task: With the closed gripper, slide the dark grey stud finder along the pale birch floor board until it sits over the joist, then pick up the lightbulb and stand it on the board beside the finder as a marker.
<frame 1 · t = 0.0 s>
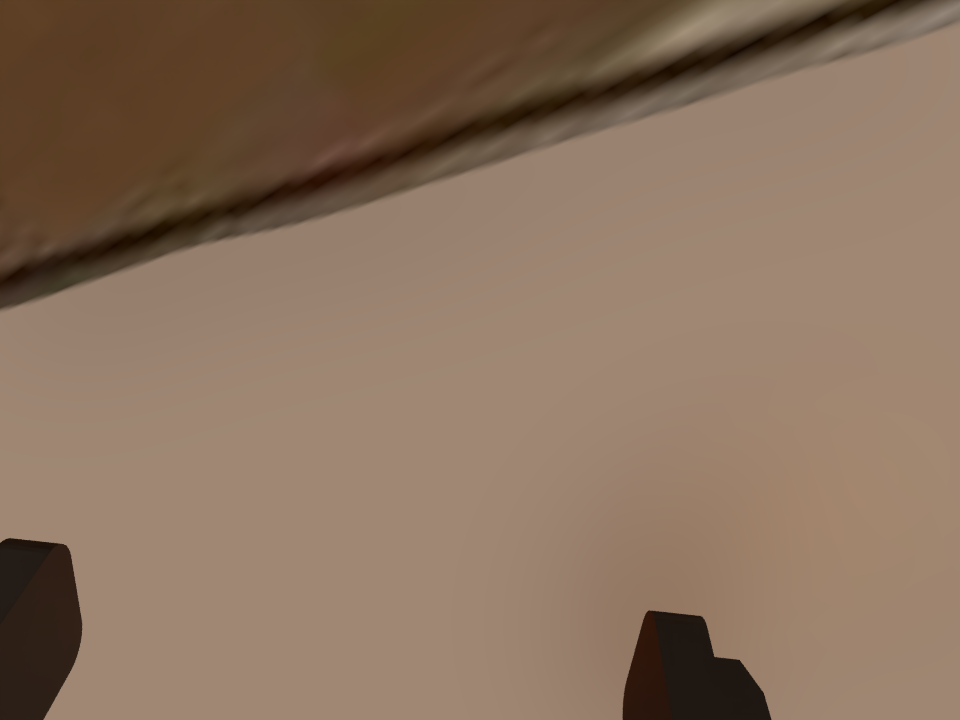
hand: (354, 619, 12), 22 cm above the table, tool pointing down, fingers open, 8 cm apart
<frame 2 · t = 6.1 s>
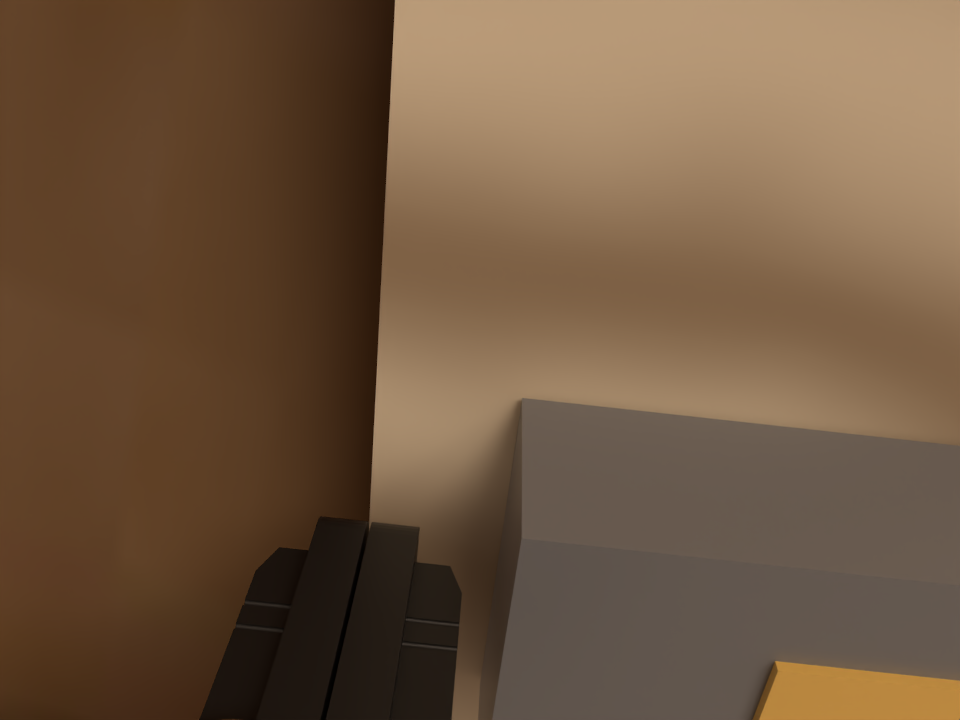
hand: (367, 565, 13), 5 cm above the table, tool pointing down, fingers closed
stud finder: (736, 656, 13), point 6 cm above the table, slide at -6.4 cm, touching gripper
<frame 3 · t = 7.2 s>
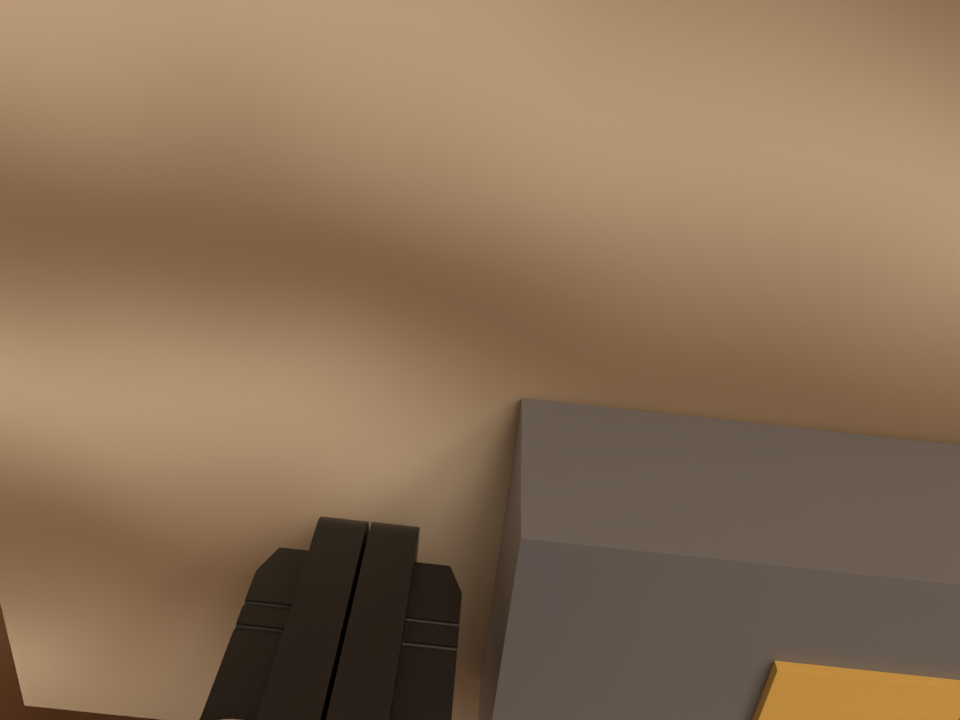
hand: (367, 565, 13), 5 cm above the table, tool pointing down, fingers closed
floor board: (728, 250, 16), on the table
stud finder: (736, 656, 13), point 6 cm above the table, slide at -0.1 cm, touching gripper
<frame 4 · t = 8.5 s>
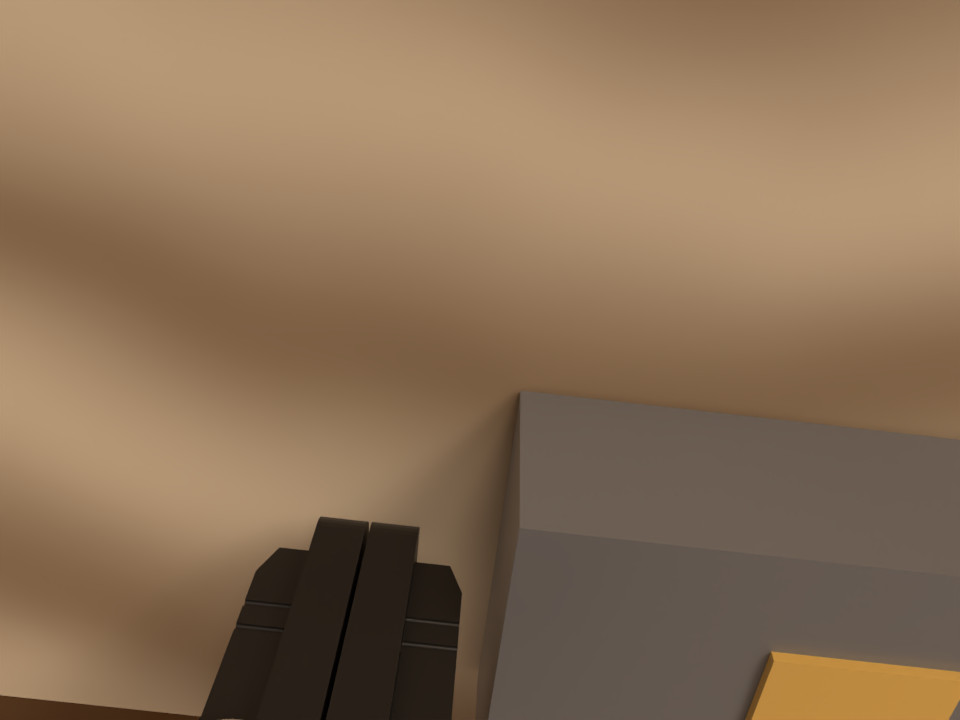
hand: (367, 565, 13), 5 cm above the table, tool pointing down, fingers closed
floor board: (437, 212, 16), on the table
stud finder: (733, 648, 13), point 6 cm above the table, slide at 5.1 cm, touching gripper
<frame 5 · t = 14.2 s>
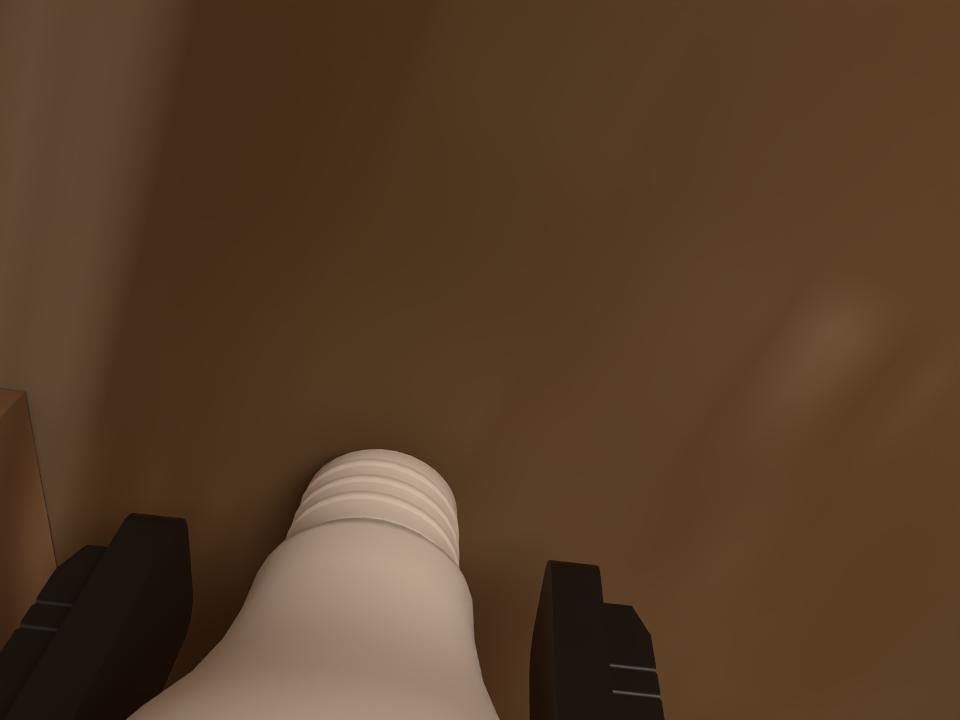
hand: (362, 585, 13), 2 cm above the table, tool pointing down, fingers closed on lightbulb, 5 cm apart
lightbulb: (387, 474, 15), on the table, touching gripper
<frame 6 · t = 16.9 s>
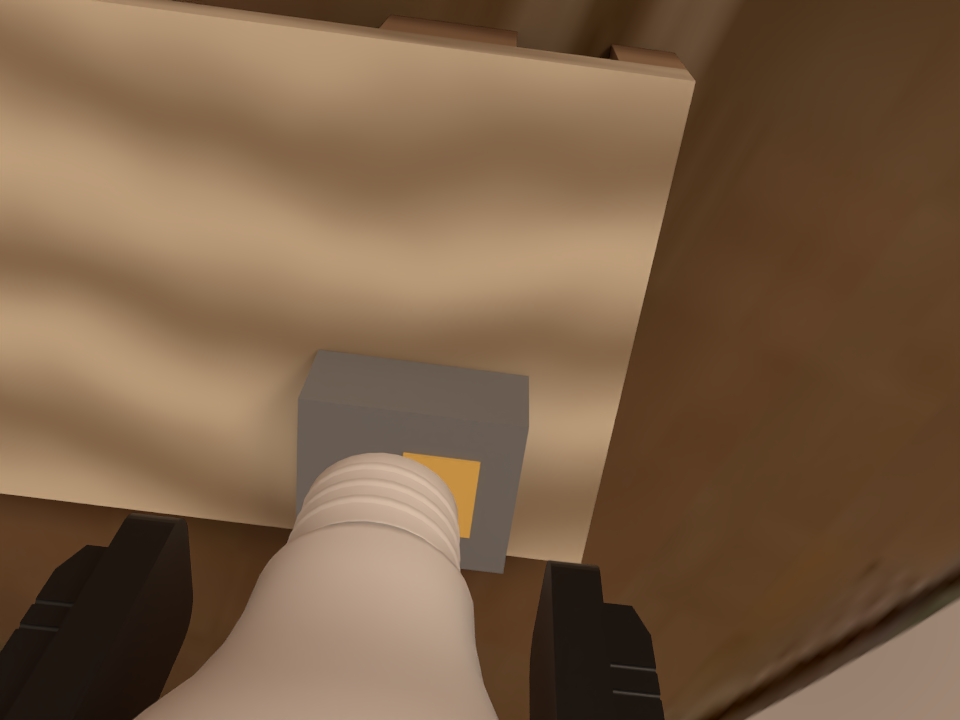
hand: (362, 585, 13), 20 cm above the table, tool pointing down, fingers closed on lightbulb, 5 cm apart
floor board: (292, 264, 32), on the table
lightbulb: (388, 477, 15), point 17 cm above the table, touching gripper
stud finder: (411, 464, 29), point 6 cm above the table, slide at 5.3 cm
when the fingers open (8 cm above the table, at t = 19.6 s): lightbulb drops 1 cm, resting on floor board.
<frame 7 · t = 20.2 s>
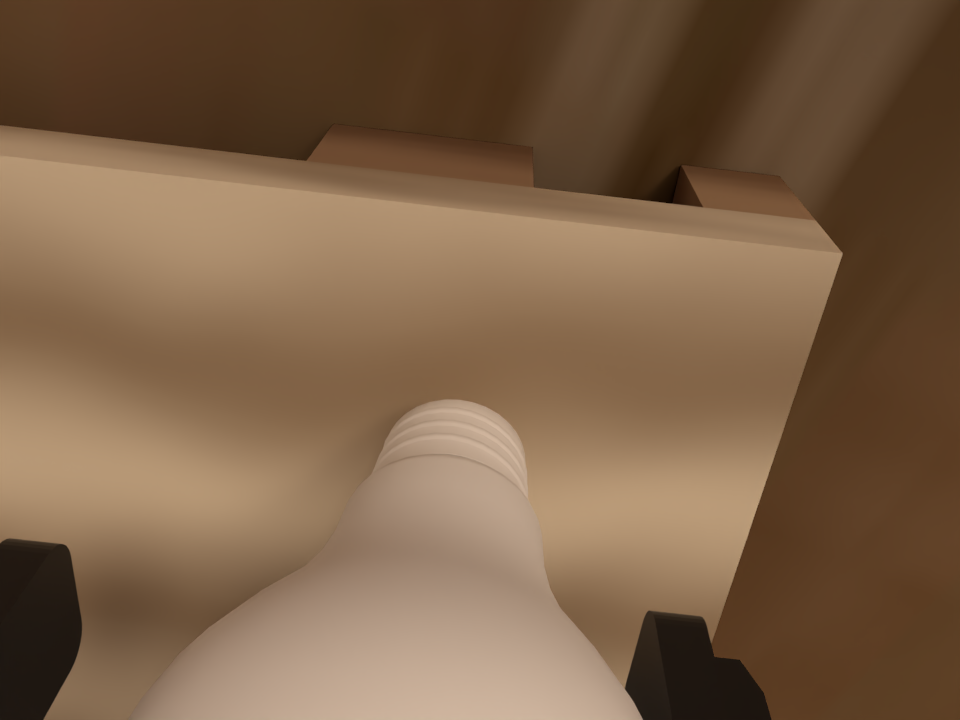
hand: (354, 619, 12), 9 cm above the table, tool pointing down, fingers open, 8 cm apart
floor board: (205, 468, 22), on the table
lightbulb: (460, 428, 16), point 4 cm above the table, touching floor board, gripper
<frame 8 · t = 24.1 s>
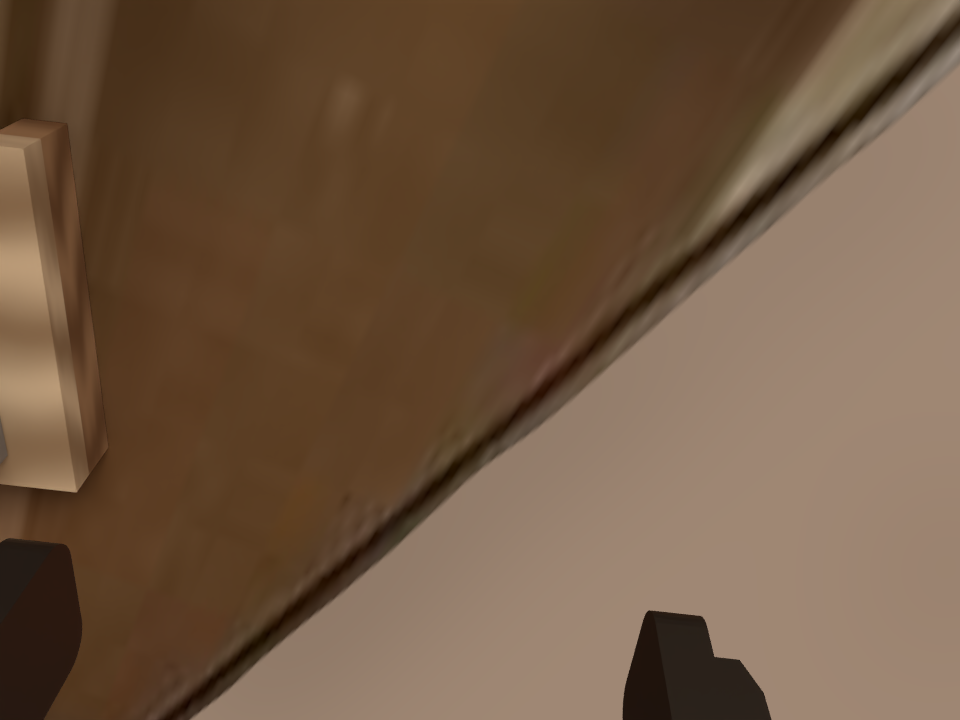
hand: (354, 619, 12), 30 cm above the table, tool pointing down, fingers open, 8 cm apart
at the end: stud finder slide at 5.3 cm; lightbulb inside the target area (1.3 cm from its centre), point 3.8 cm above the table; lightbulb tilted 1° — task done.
